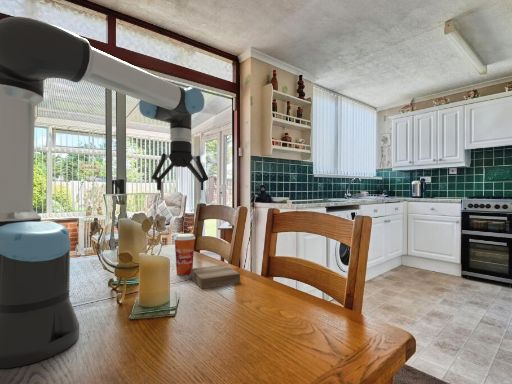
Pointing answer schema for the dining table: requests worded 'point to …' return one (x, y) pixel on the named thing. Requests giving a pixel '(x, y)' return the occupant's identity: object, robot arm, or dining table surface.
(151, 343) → the dining table surface
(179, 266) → the paper cup
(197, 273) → the walnut plinth
